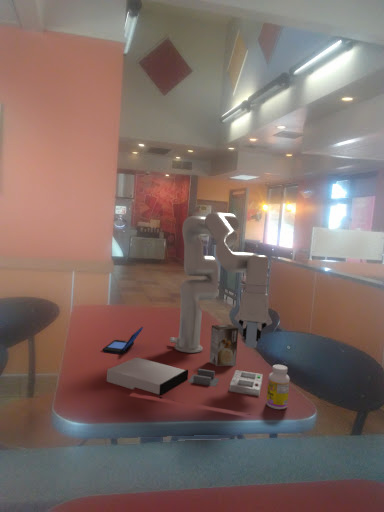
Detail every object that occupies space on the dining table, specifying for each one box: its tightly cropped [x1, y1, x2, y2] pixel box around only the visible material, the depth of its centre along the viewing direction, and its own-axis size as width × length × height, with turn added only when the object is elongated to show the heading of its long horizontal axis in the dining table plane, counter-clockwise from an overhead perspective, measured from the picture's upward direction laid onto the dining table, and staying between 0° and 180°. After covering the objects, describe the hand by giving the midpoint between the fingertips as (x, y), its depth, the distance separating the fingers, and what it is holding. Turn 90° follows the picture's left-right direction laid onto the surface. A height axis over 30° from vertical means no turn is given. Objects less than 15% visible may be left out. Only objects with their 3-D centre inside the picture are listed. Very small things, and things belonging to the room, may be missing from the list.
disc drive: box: [106, 356, 189, 399], centre depth 146 cm, size 18×22×5 cm
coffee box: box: [208, 324, 239, 367], centre depth 169 cm, size 9×6×16 cm
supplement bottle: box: [265, 364, 291, 410], centre depth 134 cm, size 7×7×13 cm
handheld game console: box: [102, 326, 144, 355], centre depth 182 cm, size 16×13×9 cm
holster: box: [187, 368, 220, 387], centre depth 149 cm, size 10×8×4 cm
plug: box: [245, 321, 258, 349], centre depth 150 cm, size 4×4×10 cm
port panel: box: [228, 369, 264, 400], centre depth 148 cm, size 10×16×3 cm, turn 166°
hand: (251, 339), depth 150 cm, fingers closed on plug, 3 cm apart
